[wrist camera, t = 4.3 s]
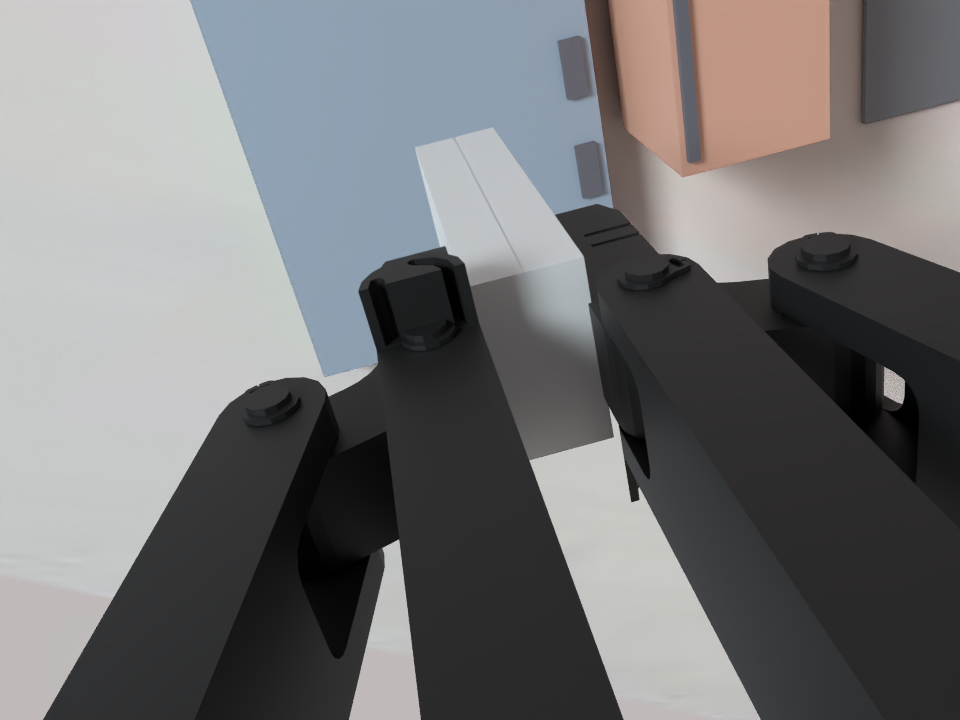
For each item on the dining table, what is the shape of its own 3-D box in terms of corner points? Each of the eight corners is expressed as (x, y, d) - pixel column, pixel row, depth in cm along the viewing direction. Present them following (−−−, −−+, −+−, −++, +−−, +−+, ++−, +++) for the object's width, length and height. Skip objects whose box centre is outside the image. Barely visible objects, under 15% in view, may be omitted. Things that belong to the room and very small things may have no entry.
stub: (623, 128, 27) (685, 179, 22) (597, -86, 24) (661, -76, 19) (748, 95, 27) (833, 140, 23) (737, -121, 24) (833, -119, 20)
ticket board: (323, 350, 30) (324, 380, 28) (191, -29, 23) (181, -21, 22) (609, 274, 30) (627, 299, 28) (551, -118, 24) (569, -117, 22)
